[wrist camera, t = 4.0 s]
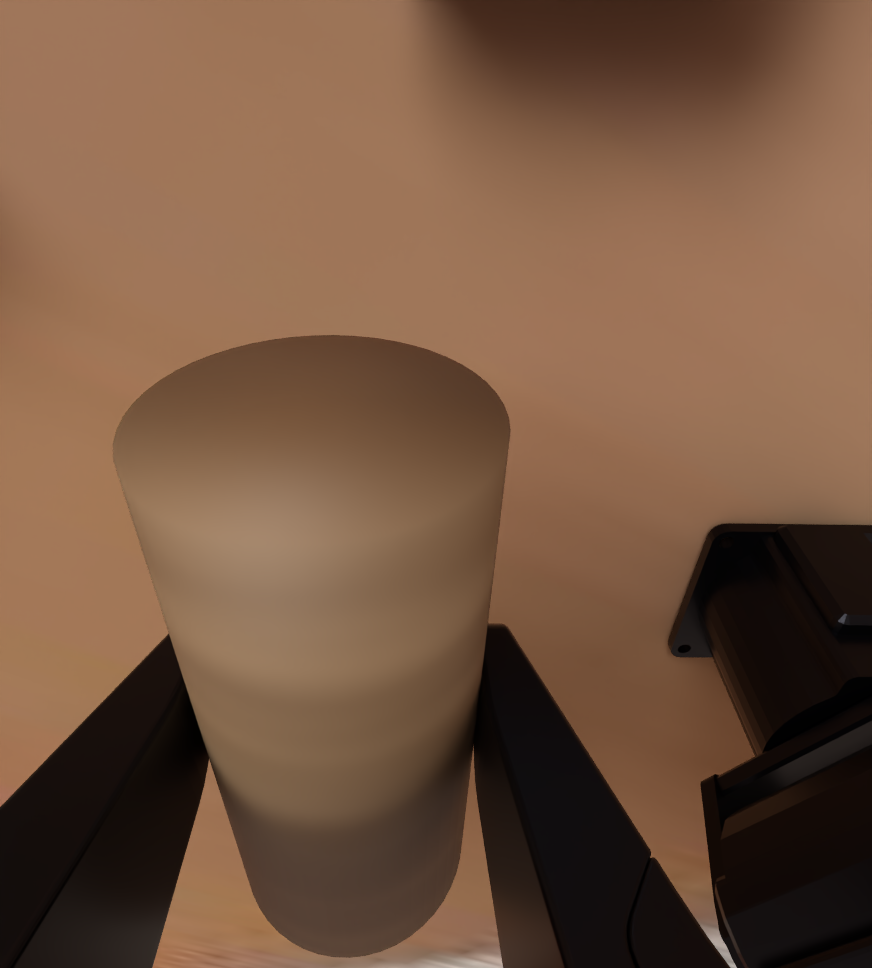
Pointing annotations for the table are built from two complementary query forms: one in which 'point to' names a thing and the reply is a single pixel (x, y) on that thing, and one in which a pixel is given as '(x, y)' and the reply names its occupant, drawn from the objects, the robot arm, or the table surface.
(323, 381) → the roller
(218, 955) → the table surface
